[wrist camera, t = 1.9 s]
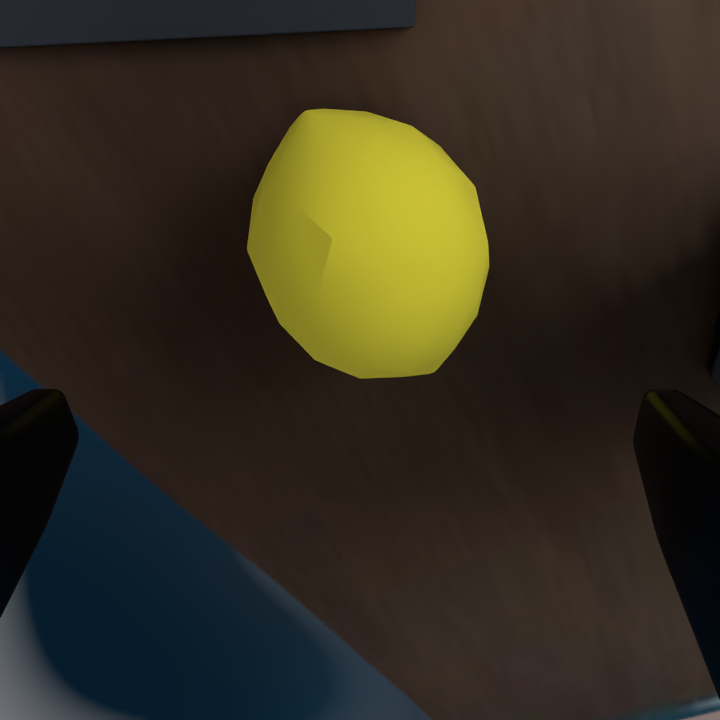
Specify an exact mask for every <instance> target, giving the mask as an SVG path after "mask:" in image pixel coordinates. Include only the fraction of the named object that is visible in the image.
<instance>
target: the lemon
mask: <svg viewBox="0 0 720 720" xmlns="http://www.w3.org/2000/svg"><path fill="white" fill-rule="evenodd" d="M247 251H248V253H249V256H250V258H251V261H252V263H253V265H254V268H255V270H256V273H257V275H258V277H259V280H260V282H261V285H262V287H263V289H264V292H265V294H266V297H267V299H268V301H269V303H270V305H271V307H272V309H273V311H274V313H275V315H276V317H277V319H278V322H279V324H280V325H281V326H282V327H283V328H284V329H285V330H286V331H287V332H288V333H289V334H290V335H291V336H292V337H293V338H294V339H295V340H296V341H297V342H298V343H299V344H300V345H301V346H302V347H303V348H304V349H305V350H306V351H307V353H308V354H309V355H310V356H311V357H312V358H313V359H314V360H316V361H318V362H321V363H323V364H325V365H328V366H330V367H333V368H335V369H338V370H340V371H343V372H345V373H347V374H350V375H352V376H355V377H357V378H360V379H362V378H388V377H406V376H415V375H424V374H430V373H433V372H435V371H436V370H437V369H438V368H439V367H440V366H441V365H442V363H443V362H444V361H445V360H446V359H447V357H448V356H449V355H450V354H451V353H452V352H453V350H454V349H455V348H456V346H457V345H458V343H459V342H460V340H461V339H462V337H463V336H464V334H465V333H466V331H467V330H468V328H469V327H470V325H471V324H472V322H473V321H474V319H475V318H476V316H477V314H478V310H479V306H480V302H481V298H482V294H483V290H484V286H485V282H486V278H487V274H488V270H489V250H488V240H487V236H486V231H485V227H484V223H483V218H482V214H481V210H480V205H479V201H478V197H477V192H476V188H475V186H474V185H473V184H472V182H471V181H470V180H469V179H468V178H467V177H466V176H465V174H464V173H463V172H462V171H461V170H460V169H459V167H458V166H457V165H456V164H455V163H454V162H453V161H452V159H451V158H450V157H449V156H448V155H447V154H446V153H445V151H444V150H443V149H442V148H441V147H440V146H439V145H438V144H436V143H435V142H434V141H432V140H431V139H429V138H428V137H427V136H425V135H424V134H422V133H421V132H420V131H418V130H417V129H415V128H414V127H413V126H411V125H408V124H404V123H401V122H398V121H395V120H392V119H389V118H385V117H382V116H379V115H376V114H373V113H370V112H366V111H351V110H336V109H314V110H307V111H304V112H303V113H302V114H301V115H300V116H299V117H298V118H297V119H296V120H295V122H294V123H293V124H292V125H291V126H290V128H289V129H288V131H287V133H286V134H285V136H284V138H283V140H282V141H281V143H280V145H279V146H278V148H277V150H276V152H275V153H274V155H273V157H272V158H271V160H270V162H269V164H268V165H267V168H266V170H265V172H264V175H263V177H262V179H261V182H260V184H259V186H258V189H257V191H256V193H255V195H254V198H253V204H252V212H251V220H250V228H249V236H248V244H247Z"/></svg>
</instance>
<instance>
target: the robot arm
mask: <svg viewBox="0 0 720 720" xmlns="http://www.w3.org/2000/svg"><path fill="white" fill-rule="evenodd" d="M714 331H715V332H716V333H717V334H716V337H715V340H714V343H713V347H712V350H711V353H710V356H709V359H708V362H707V371H708V373H709V374H710V376H711V377H712V378H713V380H714V381H715V382H717V383H718V384H720V309H719V312H718V316H717V319H716V322H715V325H714ZM78 435H79V434H78V428H77V426H76V423H75V421H74V418H73V415H72V413H71V410H70V408H69V405H68V402H67V400H66V397H65V395H64V394H63V393H62V392H61V391H59V390H57V389H35V390H31V391H29V392H27V393H25V394H23V395H21V396H19V397H17V398H15V399H13V400H11V401H9V402H7V403H4V404H2V405H0V617H1V615H2V613H3V611H4V609H5V607H6V606H7V604H8V602H9V600H10V598H11V596H12V594H13V592H14V590H15V588H16V586H17V584H18V582H19V580H20V578H21V576H22V574H23V572H24V570H25V568H26V566H27V564H28V562H29V560H30V558H31V556H32V554H33V552H34V550H35V548H36V546H37V544H38V542H39V540H40V538H41V536H42V534H43V531H44V529H45V527H46V525H47V523H48V520H49V518H50V515H51V513H52V511H53V508H54V505H55V502H56V500H57V497H58V495H59V492H60V489H61V487H62V484H63V481H64V479H65V476H66V473H67V471H68V468H69V465H70V463H71V460H72V457H73V455H74V452H75V449H76V447H77V443H78ZM633 443H634V450H635V454H636V458H637V462H638V466H639V470H640V474H641V478H642V481H643V485H644V489H645V493H646V497H647V501H648V505H649V509H650V513H651V517H652V521H653V525H654V528H655V532H656V535H657V539H658V541H659V544H660V547H661V550H662V553H663V555H664V558H665V560H666V563H667V565H668V568H669V571H670V573H671V576H672V578H673V581H674V583H675V586H676V589H677V591H678V594H679V596H680V599H681V601H682V604H683V607H684V609H685V612H686V614H687V617H688V619H689V622H690V625H691V627H692V630H693V632H694V635H695V637H696V640H697V643H698V645H699V648H700V650H701V653H702V655H703V658H704V661H705V663H706V666H707V668H708V671H709V673H710V676H711V679H712V681H713V684H714V686H715V689H716V691H717V694H718V697H719V699H720V415H718V414H716V413H715V412H713V411H711V410H710V409H708V408H706V407H705V406H703V405H701V404H700V403H698V402H696V401H695V400H693V399H691V398H690V397H688V396H686V395H685V394H683V393H681V392H680V391H678V390H649V391H648V392H646V393H645V395H644V397H643V399H642V403H641V407H640V411H639V415H638V419H637V423H636V427H635V431H634V437H633Z"/></svg>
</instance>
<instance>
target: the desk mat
mask: <svg viewBox="0 0 720 720" xmlns="http://www.w3.org/2000/svg"><path fill="white" fill-rule="evenodd" d="M414 25H415V0H0V48H1V47H21V46H42V45H63V44H83V43H104V42H124V41H145V40H166V39H186V38H207V37H227V36H248V35H269V34H289V33H310V32H330V31H351V30H372V29H392V28H412V27H414Z"/></svg>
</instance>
